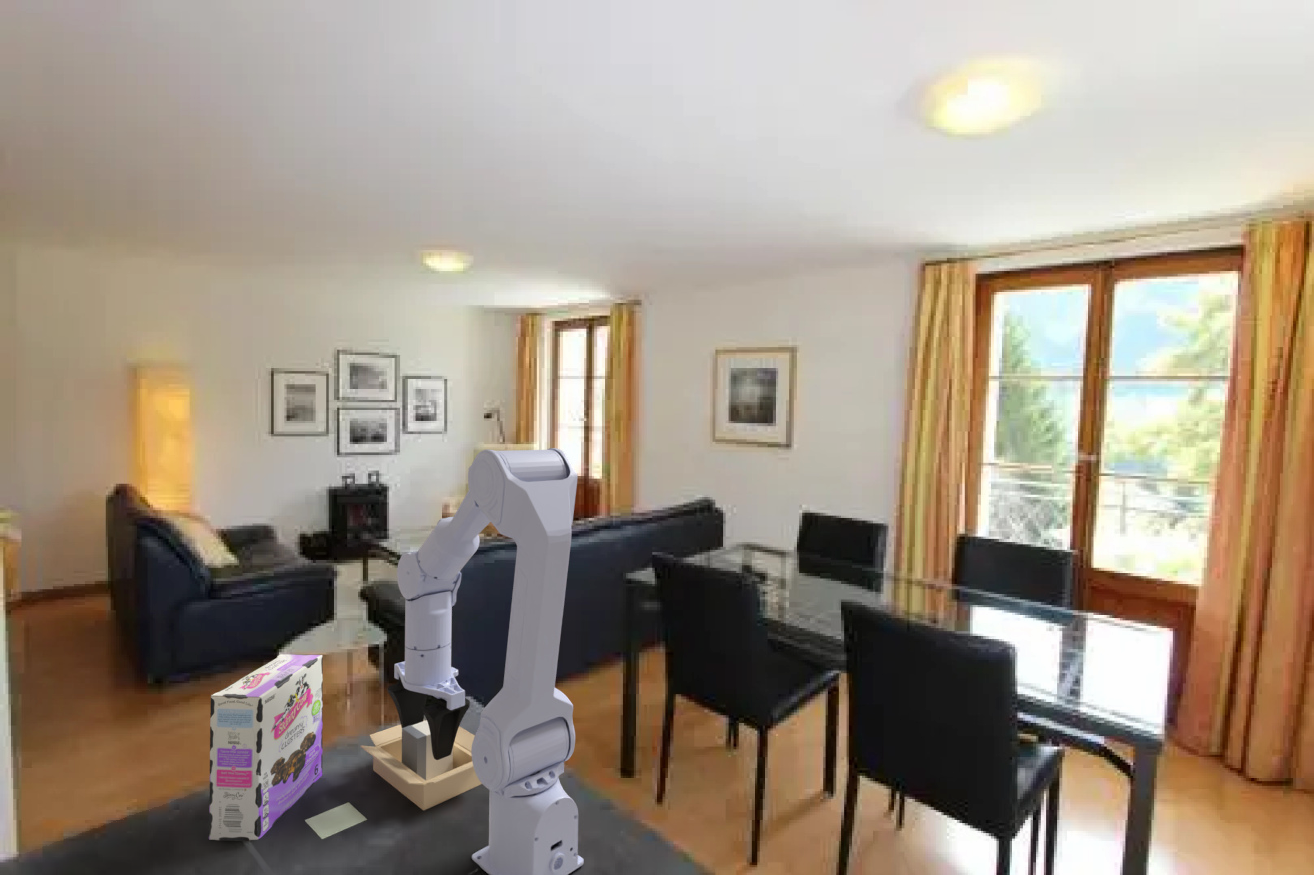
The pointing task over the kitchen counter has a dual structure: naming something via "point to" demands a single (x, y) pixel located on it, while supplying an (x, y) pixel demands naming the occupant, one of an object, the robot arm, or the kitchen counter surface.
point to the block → (422, 752)
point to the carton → (413, 785)
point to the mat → (335, 820)
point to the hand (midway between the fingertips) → (427, 746)
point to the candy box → (264, 745)
